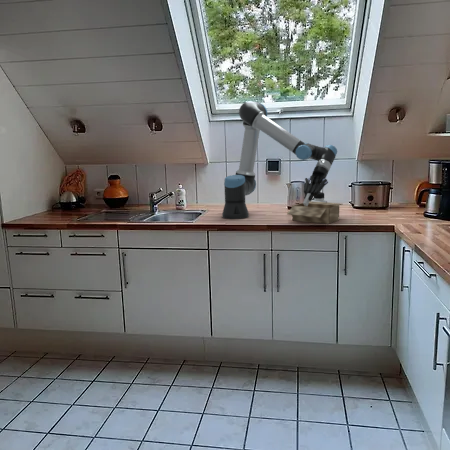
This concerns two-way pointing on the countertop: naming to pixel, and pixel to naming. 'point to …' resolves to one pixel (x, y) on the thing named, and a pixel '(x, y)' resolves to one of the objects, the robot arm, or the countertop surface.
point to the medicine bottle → (319, 198)
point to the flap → (306, 211)
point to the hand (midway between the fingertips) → (305, 204)
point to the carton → (327, 217)
